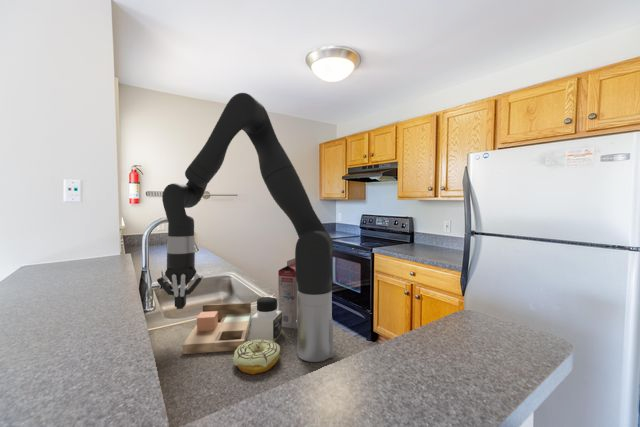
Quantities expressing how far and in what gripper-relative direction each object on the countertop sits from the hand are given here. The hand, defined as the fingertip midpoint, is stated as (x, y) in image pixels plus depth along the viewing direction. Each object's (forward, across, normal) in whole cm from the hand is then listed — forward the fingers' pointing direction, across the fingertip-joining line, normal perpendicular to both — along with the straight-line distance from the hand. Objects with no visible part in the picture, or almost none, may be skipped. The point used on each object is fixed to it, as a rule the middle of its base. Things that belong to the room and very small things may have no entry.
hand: (180, 308), depth 84 cm
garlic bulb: (+9, +26, +18) cm, 33 cm away
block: (+6, +8, +1) cm, 10 cm away
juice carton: (+9, +34, +6) cm, 35 cm away
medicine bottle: (+9, +26, -3) cm, 28 cm away
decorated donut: (+9, +24, -17) cm, 31 cm away
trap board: (+9, +12, +1) cm, 15 cm away
